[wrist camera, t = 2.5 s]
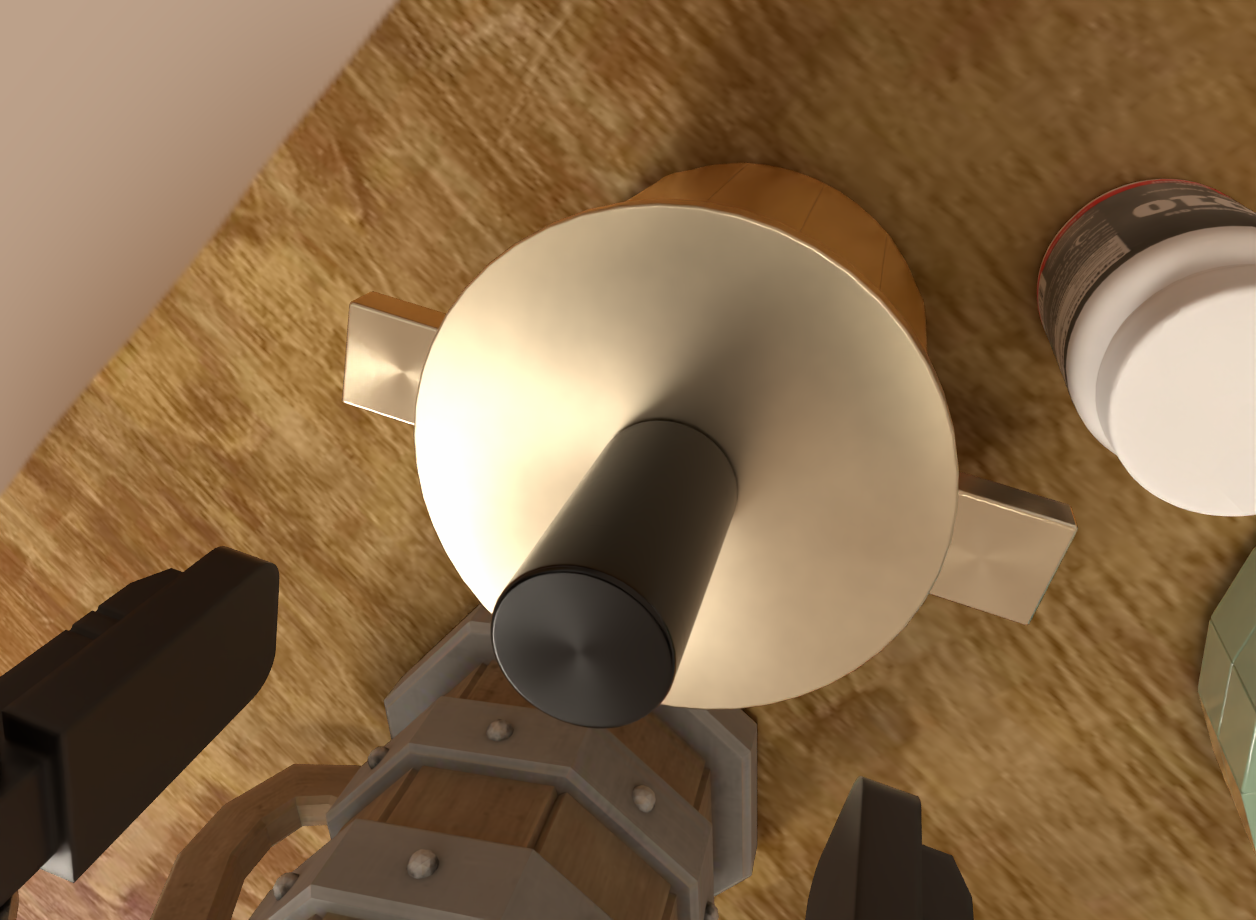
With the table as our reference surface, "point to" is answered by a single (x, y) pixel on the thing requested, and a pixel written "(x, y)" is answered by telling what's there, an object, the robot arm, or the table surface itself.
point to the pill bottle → (1162, 337)
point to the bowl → (1234, 691)
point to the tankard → (494, 812)
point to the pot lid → (683, 461)
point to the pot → (987, 511)
